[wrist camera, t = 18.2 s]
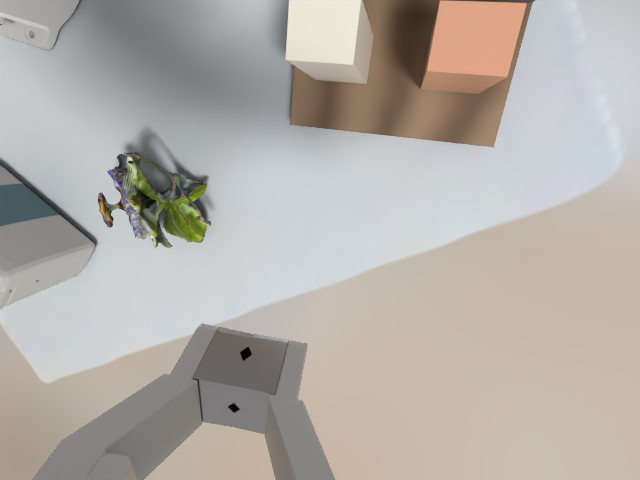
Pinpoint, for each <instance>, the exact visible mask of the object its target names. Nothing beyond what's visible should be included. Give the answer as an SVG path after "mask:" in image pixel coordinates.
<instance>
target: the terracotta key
mask: <svg viewBox="0 0 640 480" xmlns="http://www.w3.org/2000/svg"><path fill="white" fill-rule="evenodd" d="M526 5H527V3H508V2H474V1H440V3H439V7H438V11H437V14H436V18H435V22H434V26H433V30H432V34H431V37H430V42H429V47H428V52H427V58H426V63H425V68H424V74H423V79H422V84H421V89H422V90H434V91H446V92H459V93H471V94H479V93H481V92H482V91H484V90H486V89H487V88H489V87H491V86H493V85H494V84H496V83H498V82H499V81H501V80H503V79H505V78H506V77H507V76H508V73H509V69H510V65H511V61H512V57H513V54H514V50H515V46H516V42H517V39H518V35H519V31H520V27H521V23H522V20H523V16H524V12H525V8H526Z"/></svg>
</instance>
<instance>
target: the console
mask: <svg viewBox="0 0 640 480" xmlns="http://www.w3.org/2000/svg"><path fill="white" fill-rule="evenodd" d="M440 1H474V2H508V3H527V5H526V8H525V12H524V16H523V20H522V23H521V27H520V31H519V35H518V39H517V42H516V46H515V50H514V54H513V57H512V61H511V65H510V69H509V73H508V76H507V77H506V78H505V79H503V80H501V81H499V82H498V83H496V84H494V85H493V86H491V87H489V88H487V89H486V90H484V91H482V92H481V93H479V94H471V93H459V92H446V91H434V90H422V89H421V84H422V79H423V74H424V68H425V63H426V58H427V52H428V47H429V42H430V37H431V34H432V30H433V26H434V22H435V18H436V14H437V11H438V7H439V3H440ZM534 1H535V0H363V3H364V7H365V10H366V13H367V16H368V20H369V23H370V26H371V29H372V33H373V44H372V51H371V58H370V65H369V73H368V80H367V84H359V83H347V82H335V81H323V80H316V79H314V78H313V77H311V76H309V75H308V74H306V73H305V72H303V71H302V70H300V69H299V68H297V67H296V66H294V76H293V90H292V104H291V118H290V125H299V126H308V127H317V128H326V129H335V130H344V131H353V132H362V133H371V134H380V135H389V136H398V137H407V138H416V139H425V140H434V141H443V142H452V143H461V144H470V145H479V146H488V147H494V143H495V140H496V136H497V132H498V129H499V125H500V121H501V117H502V114H503V110H504V106H505V103H506V99H507V95H508V91H509V88H510V84H511V80H512V77H513V73H514V69H515V65H516V62H517V58H518V54H519V51H520V47H521V43H522V39H523V36H524V32H525V28H526V25H527V21H528V17H529V13H530V10H531V6H532V3H533V2H534Z"/></svg>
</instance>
